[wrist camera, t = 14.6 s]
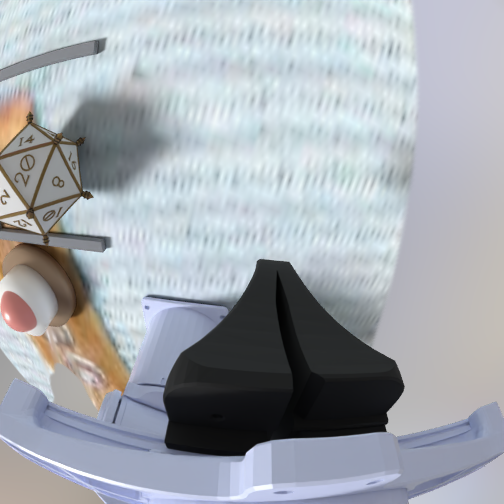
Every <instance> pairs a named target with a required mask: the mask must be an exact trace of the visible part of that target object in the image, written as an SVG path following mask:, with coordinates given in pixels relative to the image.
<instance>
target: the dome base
mask: <svg viewBox="0 0 504 504" xmlns="http://www.w3.org/2000/svg"><path fill="white" fill-rule="evenodd" d="M16 265H26V266H28V267H30V268H32V269H34V270H35V271H36V272H38V273H39V274H40V275H41V276H42V277H43V278H44V279H45V280H46V281H47V283H48V284H49V285H50V287H51V288H52V290H53V292H54V294H55V296H56V299H57V302H58V311H57V313H56V315H55V316H54V318H53V320H52V321H51V323H50V324H49V326H54V327H58V326H62V325H64V324H65V323H67V321H68V320H69V318H70V317H71V315H72V314H73V312H74V310H75V308H76V295H75V291H74V288H73V285H72V283H71V281H70V279H69V277H68V276H67V274H66V273H65V271H64V270H63V268H62V267H61V266H60V265H59V263H58V262H57V261H56V260H55V259H54V258H53V257H52V256H51V255H49V254H48V253H47V252H46V251H44V250H42V249H41V248H39V247H37V246H35V245H32V244H20V245H17V246H16V247H15V248H14V249H12V250H11V251H10V252H9V253H8V254H7V255H6V257H5V258H4V261H3V276H4V277H5V276H6V275H7V274H8V273H9V272H10V270H11V269H12V268H13V267H14V266H16Z"/></svg>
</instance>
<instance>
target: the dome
mask: <svg viewBox="0 0 504 504" xmlns="http://www.w3.org/2000/svg"><path fill="white" fill-rule="evenodd" d="M0 307H1V313H2V316H3V318H4V320H5V322H6V323H7V324H8V326H10V327H11V328H12V329H14V330H16V331H19V332H26V333H28V334H30V335H33V336H41V335H42V334H43V333H44V332H45V330H46V329H47V327H48V326H49V324H50V323H51V321H52V320H53V318H54V316H55V315H56V313H57V311H58V302H57V299H56V296H55V294H54V292H53V290H52V288H51V287H50V285H49V284H48V283H47V281H46V280H45V279H44V278H43V277H42V276H41V275H40V274H39V273H38V272H36V271H35V270H34V269H32V268H30V267H28V266H26V265H16V266H14V267H13V268H12V269H11V270H10V272H9V273H8V274H7V275H6V276H5V277H4V278H3V279H2V280H1V281H0Z"/></svg>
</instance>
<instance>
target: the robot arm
mask: <svg viewBox="0 0 504 504" xmlns="http://www.w3.org/2000/svg"><path fill="white" fill-rule="evenodd" d="M141 303H142V308H143V314H144V319H145V324H146V329H147V332H146V334H145V337H144V340H143V342H142V345H141V348H140V350H139V353H138V356H137V359H136V361H135V364H134V367H133V370H132V373H131V375H130V378H129V381H128V383H127V385H126V388H125V390H124V393H123V395H122V396H121V392H120V391H118V390H116V389H115V390H114V391H113V392H109V393H107V394H106V395H105V398H104V400H103V402H102V405H101V408H100V411H99V413H98V416H97V419H96V418H93V417H90V416H87V415H84V414H81V413H78V412H75V411H72V410H70V409H67V408H64V407H62V406H59V405H57V404H54V403H52V402H49V401H48V399H47V397H46V396H45V394H44V393H43V392H42V391H41V390H39V389H38V388H36V387H34V386H32V385H30V384H28V383H26V382H23V381H21V380H19V379H17V378H14V380H13V381H12V383H11V385H10V387H9V389H8V391H7V393H6V395H5V397H4V399H3V401H2V403H1V405H0V439H1V440H3V441H4V442H5V443H6V444H8V445H9V446H10V447H11V448H13V449H14V450H15V451H17V452H18V453H19V454H21V455H22V456H23V457H25V458H27V459H28V460H30V461H32V462H34V463H36V464H38V465H39V466H41V467H43V468H45V469H47V470H49V471H51V472H53V473H55V474H57V475H59V476H61V477H63V478H65V479H68V480H70V481H72V482H74V483H76V484H79V485H81V486H83V487H86V488H88V489H91V490H93V491H95V492H96V494H97V495H98V496H99V497H100V498H101V499H102V500H103V501H104V503H106V504H409V503H408V499H411V498H414V497H417V496H419V495H422V494H425V493H427V492H430V491H433V490H435V489H437V488H440V487H442V486H445V485H447V484H449V483H451V482H454V481H456V480H458V479H460V478H463V477H465V476H467V475H469V474H471V473H473V472H475V471H477V470H479V469H480V468H482V467H483V466H485V465H486V464H488V463H490V462H491V461H493V460H494V459H495V458H497V457H498V456H500V455H501V454H503V453H504V418H503V416H502V413H501V411H500V408H499V406H498V404H497V402H493V403H491V404H488V405H485V406H482V407H480V408H479V409H477V410H476V411H474V412H473V413H472V414H471V415H470V416H469V418H468V419H465V420H462V421H458V422H455V423H452V424H448V425H445V426H441V427H438V428H434V429H430V430H426V431H421V432H417V433H413V434H408V435H404V436H398V437H396V436H395V435H393V434H391V433H389V432H387V431H386V427H385V425H386V424H387V423H388V417H387V411H388V410H389V409H390V408H391V407H392V406H393V405H394V404H395V403H396V401H397V400H398V399H399V397H400V396H401V395H402V393H403V391H404V383H403V380H402V377H401V374H400V371H399V369H398V367H397V364H396V362H395V361H394V360H392V359H391V358H389V357H387V356H385V355H383V354H381V353H380V352H378V351H376V350H374V349H372V348H371V347H369V346H368V345H366V344H365V343H363V342H362V341H360V340H359V339H358V338H356V337H355V336H353V335H352V334H351V333H350V332H348V331H347V330H346V329H345V328H343V327H342V326H341V325H340V324H339V323H338V322H337V321H335V320H334V319H333V318H332V317H331V316H330V315H329V314H328V313H327V312H326V311H325V310H324V309H323V307H322V306H321V305H320V304H319V303H318V302H317V301H316V299H315V298H314V297H313V296H312V294H311V293H310V292H309V290H308V289H307V288H306V286H305V285H304V283H303V282H302V280H301V279H300V277H299V276H298V274H297V273H296V271H295V270H294V268H293V267H292V265H291V264H290V262H284V261H274V260H264V259H259V260H258V261H257V264H256V269H255V272H254V275H253V277H252V279H251V281H250V283H249V285H248V287H247V288H246V290H245V292H244V293H243V295H242V296H241V298H240V299H239V301H238V302H237V304H236V305H235V306H234V307H233V309H232V310H231V311H230V312H229V311H228V309H227V308H226V307H223V306H215V305H206V304H197V303H189V302H181V301H173V300H165V299H158V298H151V297H144V298H143V299H142V302H141ZM146 305H147V306H149V307H147V306H146ZM221 315H224V316H221Z"/></svg>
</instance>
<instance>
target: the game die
mask: <svg viewBox="0 0 504 504" xmlns="http://www.w3.org/2000/svg"><path fill="white" fill-rule="evenodd" d="M26 118H27V120H26V121H27V122H28V124H27V125H26V126H25V127H24V128H23V129H22V130H21V131H20V132H19V133H18V134H17V135H16V136H15V137H14V138H13V139H12V140H11V141H10V142H9V143H8V145H7V146H6V147H5V148H4V149H3V150H2V151H1V152H0V222H1V223H5V224H8V225H11V226H14V227H17V228H20V229H23V230H26V231H30V232H33V233H36V234H39V235H42V236H43V243H44V244H45V245H46V246H47V247H48V244H49V241H50V240H49V237H48V236H47V233H48V232H49V231H50V230H51V229H52V228H53V226H54V225H55V224H56V223H57V222H58V221H59V220H60V218H61V217H62V216H63V215H64V214H65V213H66V212H67V211H68V210H69V209H70V207H71V206H72V205H73V204H74V203H75V202H76V201H77V200H78V199H79V198H80V197H81V196H83V197H84V199H85V198H86V199H87V200H88V199H90V198H94V197H93V196H92V194H91V193H90V191H89V192H87V191H85V192H84V191H83V189H82V182H81V175H80V167H79V158H78V148H77V146H79V145H81V144H82V143H83V144H84V140H85V138H86V137H85V138H79V139H78V140H77V142H76V143H75V142H73V141H71V140H69V139H67V138H65V137H63V135H62V133H59V134H56V133H54V132H52V131H49V130H47V129H45V128H43V127H41V126H38V125H36V124H34V123H32V120H33V115H32V113H31V112H29V114H28V115H27V117H26Z"/></svg>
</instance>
